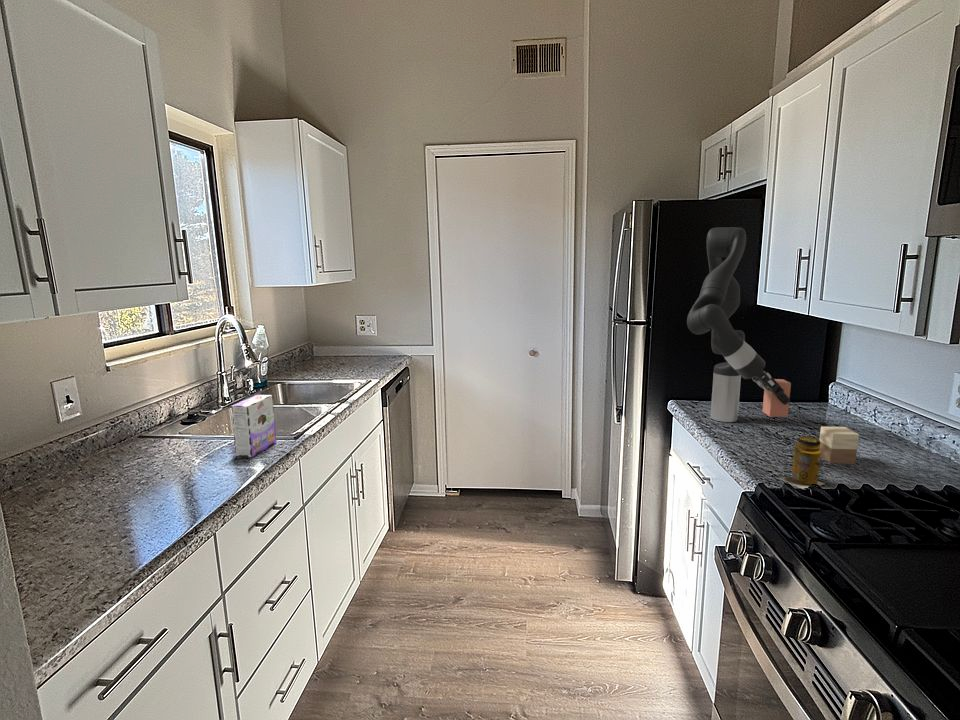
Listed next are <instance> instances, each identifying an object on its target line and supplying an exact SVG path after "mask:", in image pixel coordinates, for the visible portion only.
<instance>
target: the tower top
mask: <svg viewBox="0 0 960 720" xmlns="http://www.w3.org/2000/svg"><path fill="white" fill-rule="evenodd" d="M819 440H820V442H822V443H824V444H825V445H827V446H828V447H830V448H831V449H857V450H858V447H859V440H860V433H857V432H855V431H854V430H852V429H850V428H848V427H847V426H820V433H819Z"/></svg>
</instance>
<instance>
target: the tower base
mask: <svg viewBox="0 0 960 720" xmlns="http://www.w3.org/2000/svg"><path fill="white" fill-rule="evenodd" d="M820 451H821V457H820V458H822V459H823V460H825V461H826V462H827V461H828V462H827V463H829V464H847V465H848V464H849V465H850V464H851V465H855V464H856V462H857V461H856V459H857V451H858V448H857V449H831V448H830V447H828V446H827V445H825V444H824V443H822V442H820Z"/></svg>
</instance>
